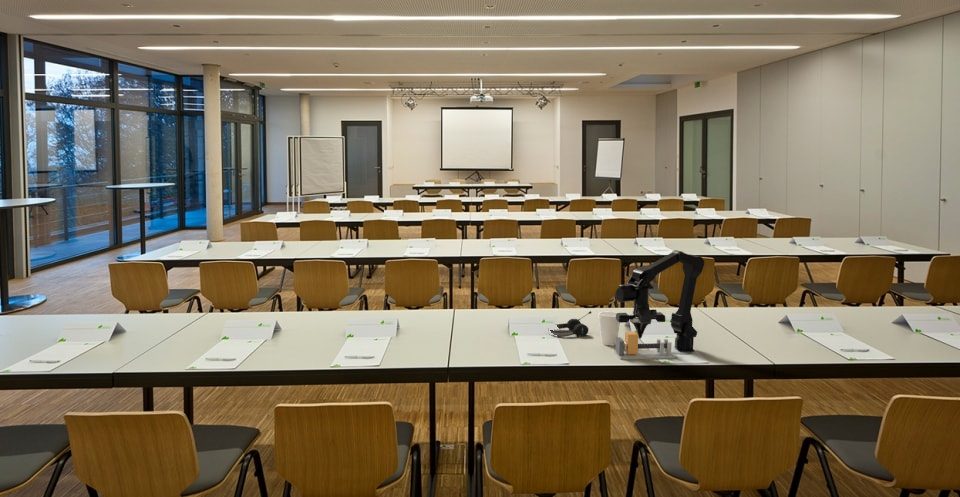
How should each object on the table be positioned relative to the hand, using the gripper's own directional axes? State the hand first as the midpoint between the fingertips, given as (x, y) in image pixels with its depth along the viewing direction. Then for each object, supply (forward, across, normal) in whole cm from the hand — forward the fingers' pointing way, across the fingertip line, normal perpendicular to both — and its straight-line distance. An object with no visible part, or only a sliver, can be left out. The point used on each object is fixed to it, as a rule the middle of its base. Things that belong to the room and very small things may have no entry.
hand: (639, 338), depth 290 cm
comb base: (+7, +2, 0) cm, 7 cm away
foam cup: (+7, -8, +18) cm, 21 cm away
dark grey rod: (+5, +2, 0) cm, 5 cm away
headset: (+8, -22, +36) cm, 43 cm away
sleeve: (+6, -3, 0) cm, 7 cm away
